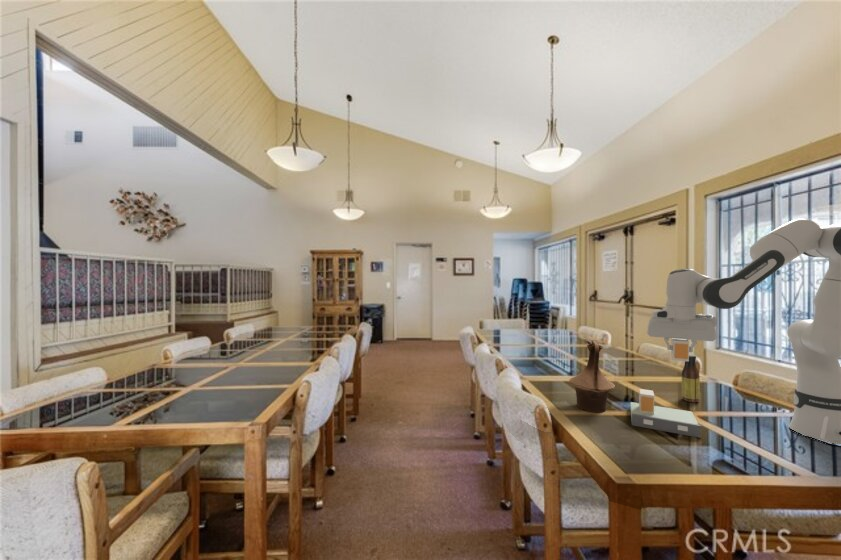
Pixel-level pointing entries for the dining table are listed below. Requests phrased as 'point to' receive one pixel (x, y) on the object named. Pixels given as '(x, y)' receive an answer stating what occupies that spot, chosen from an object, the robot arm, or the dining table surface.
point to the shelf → (666, 420)
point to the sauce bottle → (690, 381)
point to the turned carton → (680, 349)
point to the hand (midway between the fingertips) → (679, 350)
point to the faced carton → (646, 401)
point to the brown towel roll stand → (592, 382)
